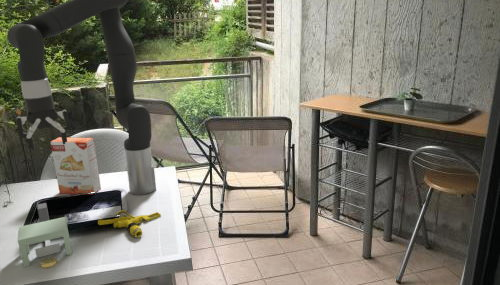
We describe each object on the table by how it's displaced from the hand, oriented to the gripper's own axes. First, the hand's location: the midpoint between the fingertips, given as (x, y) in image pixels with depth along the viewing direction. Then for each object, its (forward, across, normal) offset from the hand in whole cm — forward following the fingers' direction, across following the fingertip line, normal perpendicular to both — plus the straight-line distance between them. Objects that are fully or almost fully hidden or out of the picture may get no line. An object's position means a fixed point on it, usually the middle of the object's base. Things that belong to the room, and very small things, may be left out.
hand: (49, 146), depth 124 cm
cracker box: (+26, -7, -21) cm, 34 cm away
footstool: (+25, +6, +20) cm, 32 cm away
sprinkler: (+26, -19, +17) cm, 36 cm away
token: (+25, +6, +25) cm, 36 cm away
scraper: (+25, +6, +12) cm, 29 cm away
